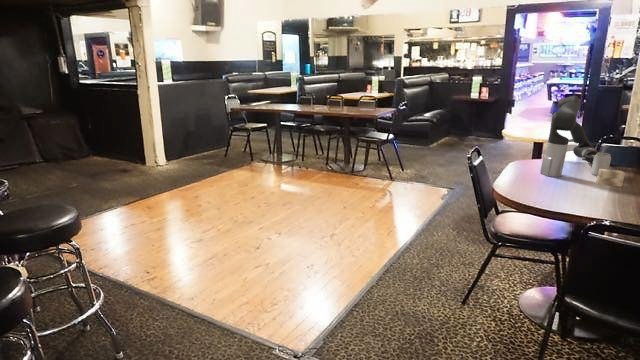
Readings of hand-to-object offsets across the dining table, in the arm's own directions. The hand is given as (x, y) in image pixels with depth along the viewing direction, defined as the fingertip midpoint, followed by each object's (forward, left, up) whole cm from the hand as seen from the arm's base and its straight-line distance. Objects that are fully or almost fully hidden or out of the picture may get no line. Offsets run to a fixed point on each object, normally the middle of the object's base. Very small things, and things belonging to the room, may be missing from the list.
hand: (599, 162), depth 226 cm
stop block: (-9, -19, -6) cm, 22 cm away
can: (-2, -3, -6) cm, 7 cm away
